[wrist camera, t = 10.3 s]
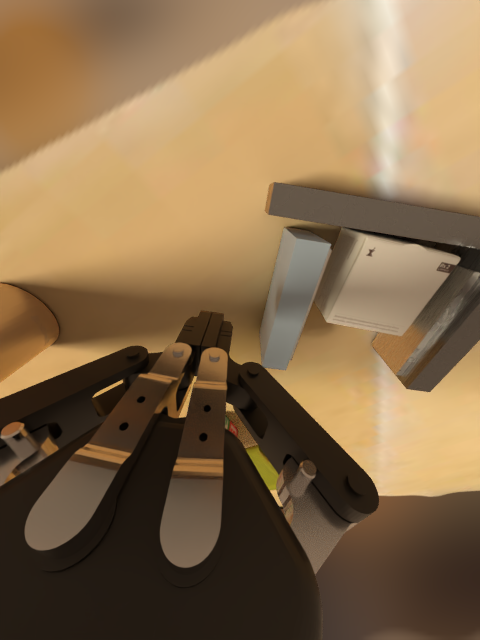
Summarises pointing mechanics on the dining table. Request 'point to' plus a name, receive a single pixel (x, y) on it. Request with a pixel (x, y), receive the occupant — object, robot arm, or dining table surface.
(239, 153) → the dining table surface
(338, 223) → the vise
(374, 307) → the small box
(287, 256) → the block
